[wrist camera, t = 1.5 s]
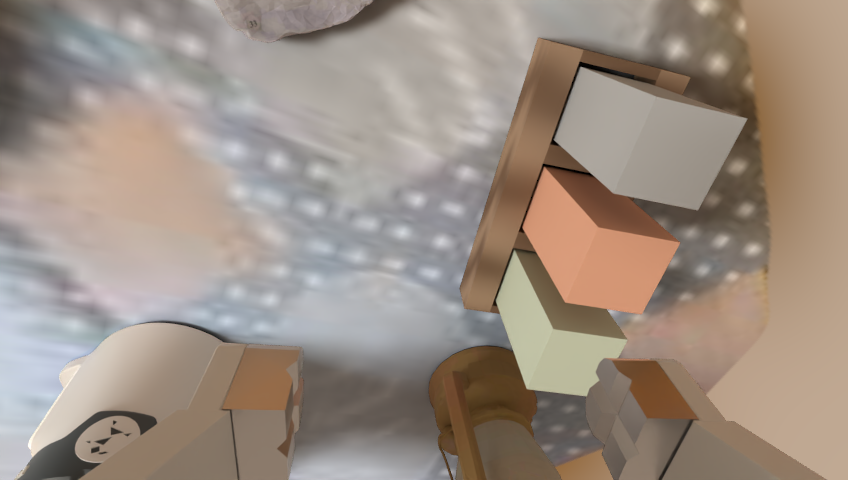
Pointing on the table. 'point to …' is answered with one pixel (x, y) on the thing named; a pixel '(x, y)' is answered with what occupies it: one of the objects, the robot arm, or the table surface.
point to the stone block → (286, 16)
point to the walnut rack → (535, 159)
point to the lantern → (487, 417)
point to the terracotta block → (596, 242)
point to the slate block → (645, 138)
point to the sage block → (553, 330)
